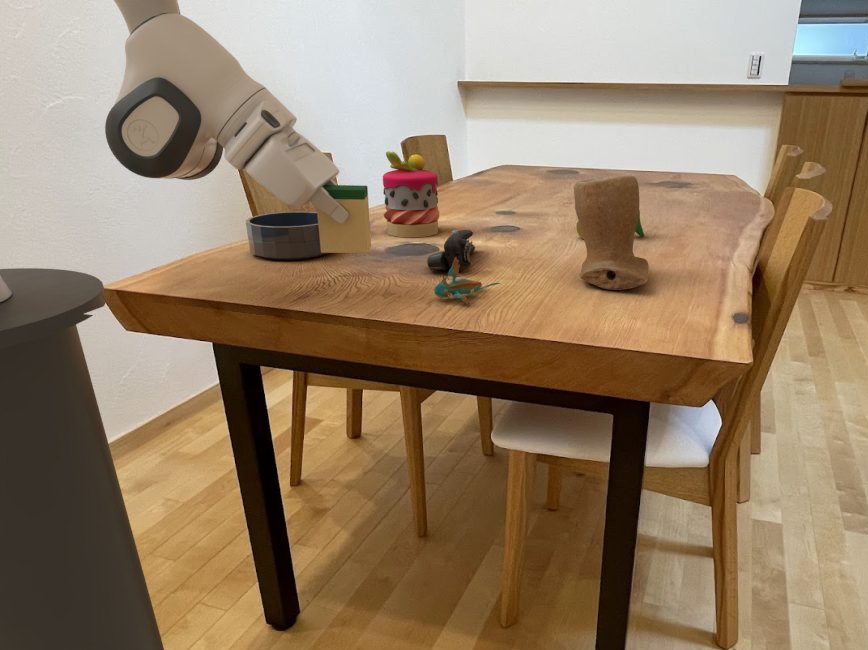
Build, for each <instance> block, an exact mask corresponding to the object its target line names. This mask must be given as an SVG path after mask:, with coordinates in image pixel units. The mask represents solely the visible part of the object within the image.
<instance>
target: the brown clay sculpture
mask: <svg viewBox="0 0 868 650" xmlns="http://www.w3.org/2000/svg"><path fill="white" fill-rule="evenodd" d="M573 195H574V196H573V197H574V210H575V213H576V217H577V221H579V223H580V227H581V230H582V233H583V237H584V239H583V240H584V243H585V247H586V258H585V259H584V261H583V262H582V265H581V269H580V273H579V277H580V279H582V280H583V281H585V282H587V283H589V284H591V285H594V286H596V287H597V288H601V289H604V290H610V291H611V290H612V291H621V290H622V291H623V290H629V289H632V288H637V287H640V286H643V285H645V284H646V283H647V281H648V278H649V272H650V270H649V269H650V266H649V265H650V264H649V261H648V260H647V259H646V258H644V257H640V256H635V254H634V243H635V242H634V241H635V234H636V232H635V230H636V225H637V221H638V217H639V210H640V187H639V182H638V179H637V177H635V176H634V175H632V174H631V175H630V174H629V175H620V176H611V177H605V178H601V177H600V178H591V179H583V180H578V181H577V182H575V183H574V186H573Z"/></svg>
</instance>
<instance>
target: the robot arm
mask: <svg viewBox="0 0 868 650" xmlns="http://www.w3.org/2000/svg"><path fill="white" fill-rule="evenodd" d="M113 2H114V3H115V4H116V6H117V8H118V9H119V12H120V13H121V15H122V17H123V20H124V21H125V24H126V27H127V29H128V32H129V36H128V37H127V39H126V40H125V44H124V52H125V69H124V75H123V80H122V83H121V86H120V90H119V92H118V95H117V96H116V97H117V98H116V100H115V102H114V104H113V106H112V107H111V108H110V110H109V112H108V114H107V116H106V120H105V126H104V132H105V139H106V143H107V145H108V148H109V150H110V152H111V153H112V155H113V156H114V158H115V159H116V160H117V161H118V162H119V163H120V164H121V166H123V167H124V168H125V169H127V170H128V171H130V172H131V173H133V174H135V175H137V176H140V177H142V178H148V179H170V180H172V179H177V180H184V181H194V180H199V179H202V178H204V177H206V176H208V175H209V174H211V173H212V172H213V171H214V170H215V169H216V168H217V167H218V165H219V164H220V162H221V160H222V157H224V159H225V160H226V161H227V162H228V163H229V164H230V165H231V166H232V167H233V168H235V169H236V170H238V171H241V170H245V172H246V173H247V174H248V175H249V176H250V177H251V178H252V179H253V180H254V181H255V182H257V184H259V185H260V186H261V187H263V188H264V189H265V190H266V191H268V192H269V193H270V194H271V195H273V197H275V198H276V199H277V200H279V201H280V202H281V203H283V204H285V205H286V206H288V207H289V208H292V209H293V210H300V209H301V208H302V207H303V206H305V205H306V204H307V203H311V204H312V205H313V206H314V207H315V208H316V209H317V208H318V209H320V210H321V211H323V212H325V213H326V214H328V215H330V216H331V217H332V218H333V219H334V220H335V221H336V222H337V223H339V224H342V223H343V222H344V221H345V220H346V219H347V218H348V217H349V215H350V213H349V211H348V210H347V209H346V208H345V207H344V206H343V205H342V204H339V203H338V202H337V201H336V200H334V199H333V198H332V197H331V196H330V195H329V193H328V192H327V191H326V190H325V189H324V188H323V187H322V186H323V185H339V184H338V183H337V182H336V181H335V180H334V179H335V178H336V177H337V176H338V175H339V174H340V169H339V168H338V167H337V165H336V164H335V162H333V161H332V160H331V159H330V158H329V157H328V156H327V155H325V153H324V152H322V151H321V150H320V149H319V148H318V147H317V146H316V145H314V143H313V142H311V141H310V140H309V139H308V138H307V137H305V136H304V135H303V134H301V133H299V132H297V131H296V130H295V128H294V126H295V125H296V122H297V120H298V119H297V116H295V114H294V113H293V112H291V111H290V109H288V108H287V107H286V106H285V105H284V104H283V103H282V102H281V101H280V100H279V99H278V98H277V96H276V95H274V94H273V93H272V92H271V91H270V90H269V89H268V88H267V87H266V86H264V85H263V84H261V83H260V82H259V81H256V80H255V79H254V78H252V77H251V76H250V75H248V73H247V72H246V71H245V70H244V67H242V65H241V63H240V62H239V61H238V59H237V58H236V57H235V56H234V55H233V54H232V53H231V52H230V51H228V50H227V49H226V47H225V46H223V45H222V44H221V43H220V42H219V41H218V40H217V39H216V38H214V37H213V36H212V35H211V34H210V33H209V32H207V31H206V30H205V29H204V28H203V27H201V26H200V25H199V24H197V23H196V22H195V21H193V20H192V19H190V18H188V17H186V16H185V15H182V14H181V10H180V6H179V2H178V0H113ZM223 152H224V153H223ZM223 154H224V155H223ZM11 295H12V291H11V290H10V289H9V287H8V286H7V285H6V283H5V282H4V280H3V279H2V277H1V276H0V302H2V301H4V300H6V299H8V298H9V297H10V296H11Z"/></svg>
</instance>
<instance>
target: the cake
mask: <svg viewBox="0 0 868 650" xmlns="http://www.w3.org/2000/svg"><path fill="white" fill-rule="evenodd" d="M385 156H386V158H387V160H388V162H389V163H390V168H391V169H393V170H390V171H387V172H384V173H383V175H382V185H383V195H384V205H385V210H386V211H385V212H384V214H383V217H384V219H385V220H386V231H387V232H386V233H387V235H390V236H393V237H398V238H423V237H430V236H435V235H437V234H438V233H439V219H440V210H439V207H438V204H439V198H438V195H439V193H438V188H437V187H438V184H439V179H438V175H437V174H436V173H435V172H433V171H431V170H426V169H424V168H425V163H426V162H425V159H424V157H423V156H421V155H420V154H416V153H415V154H412V155H410V156H409V157H408V160H407V161H405V160H402V159H401V158H400V156H399V155H398V154H397V152H395V151H386V152H385Z"/></svg>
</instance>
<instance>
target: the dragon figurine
mask: <svg viewBox="0 0 868 650" xmlns="http://www.w3.org/2000/svg"><path fill="white" fill-rule="evenodd" d="M458 262H459V260H457V258H456V257H455V259H454V262H453V265H452V267H451V268H449V269H448V272H447V274H448V276H451V277H452V281H450V282H449V283H448V282H447V278H448V277H447V276H442V279H441V281H439V282H438V283H437V284H436V285H435V287H434V289H433V290H434V291H433V293H434V295H436V296H437V297H439V298H443V299H444V298H445V299H448V300H450V297H451V296H453V297H455V298H456V299H460V300H461V301H462V302H464V303H465V304H466V305H470V304H471V303H470V301H469V299H468V298H467V297H466V296H465V295H471V294H472V291H474V292H476V291H480V290H483V289H485V288H489V287H491V286H495V285H499V284H501V282H493V283H490V284H487V285H485V286H483V283H482V282H481V281H476V280H473V279H468V278H459V279H457V277H458V275H459V271H460V270H459V266H460V264H459V265H458Z"/></svg>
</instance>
